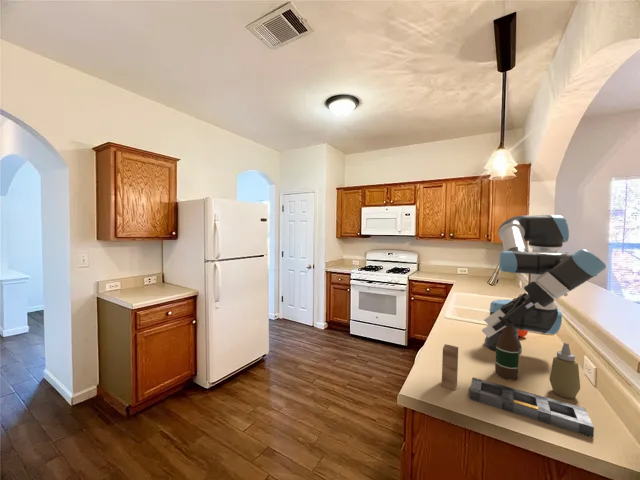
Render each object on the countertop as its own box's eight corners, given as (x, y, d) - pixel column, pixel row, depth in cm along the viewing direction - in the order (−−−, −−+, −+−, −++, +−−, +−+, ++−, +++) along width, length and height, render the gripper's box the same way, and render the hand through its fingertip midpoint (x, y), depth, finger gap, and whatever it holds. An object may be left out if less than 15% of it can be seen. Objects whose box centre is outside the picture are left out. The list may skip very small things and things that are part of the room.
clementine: (532, 338, 146) (533, 325, 145) (523, 340, 144) (523, 326, 143) (518, 333, 153) (518, 321, 153) (508, 334, 151) (509, 321, 151)
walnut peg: (443, 380, 103) (445, 344, 102) (457, 384, 100) (458, 347, 100) (441, 386, 99) (442, 348, 99) (455, 390, 97) (456, 351, 96)
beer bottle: (511, 382, 102) (514, 319, 101) (490, 372, 109) (492, 313, 108) (522, 377, 106) (525, 316, 105) (501, 368, 113) (503, 311, 112)
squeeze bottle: (542, 387, 99) (545, 338, 99) (563, 387, 100) (565, 338, 99) (564, 401, 91) (567, 348, 91) (586, 400, 92) (589, 348, 91)
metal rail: (469, 398, 92) (469, 389, 91) (472, 385, 100) (472, 376, 100) (593, 437, 75) (594, 426, 75) (584, 417, 83) (584, 407, 83)
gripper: (563, 308, 72) (494, 350, 81) (549, 293, 93) (495, 327, 101) (538, 285, 75) (474, 328, 83) (530, 275, 96) (479, 310, 104)
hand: (485, 328), depth 92 cm, fingers open, 13 cm apart
